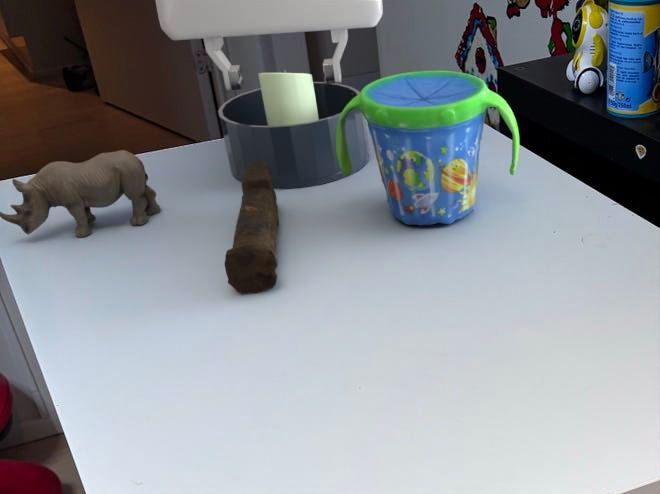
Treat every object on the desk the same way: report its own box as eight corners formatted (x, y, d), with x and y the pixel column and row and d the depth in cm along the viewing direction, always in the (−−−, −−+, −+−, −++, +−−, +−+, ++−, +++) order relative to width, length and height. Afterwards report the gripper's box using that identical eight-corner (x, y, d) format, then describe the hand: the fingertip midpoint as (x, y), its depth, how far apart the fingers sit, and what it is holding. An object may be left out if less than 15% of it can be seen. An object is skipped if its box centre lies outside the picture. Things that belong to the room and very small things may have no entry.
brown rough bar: (281, 293, 80) (270, 234, 77) (230, 297, 80) (217, 238, 77) (298, 204, 94) (289, 151, 91) (255, 207, 94) (245, 154, 91)
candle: (285, 147, 104) (269, 57, 98) (331, 148, 103) (317, 57, 97) (266, 165, 100) (248, 73, 95) (314, 166, 99) (298, 73, 94)
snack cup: (531, 192, 93) (528, 68, 86) (507, 240, 85) (501, 109, 78) (368, 188, 96) (352, 68, 89) (331, 234, 88) (311, 107, 81)
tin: (219, 192, 97) (205, 131, 94) (244, 143, 107) (232, 86, 104) (362, 184, 97) (354, 122, 93) (374, 135, 107) (367, 78, 103)
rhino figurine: (7, 238, 92) (-19, 169, 88) (158, 206, 96) (140, 138, 92) (12, 254, 89) (-15, 183, 85) (167, 220, 93) (148, 151, 89)
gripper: (376, -105, 90) (393, 68, 99) (146, -90, 90) (185, 82, 100) (374, -94, 85) (392, 87, 95) (131, -77, 85) (173, 102, 95)
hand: (284, 85), depth 97 cm, fingers open, 8 cm apart
